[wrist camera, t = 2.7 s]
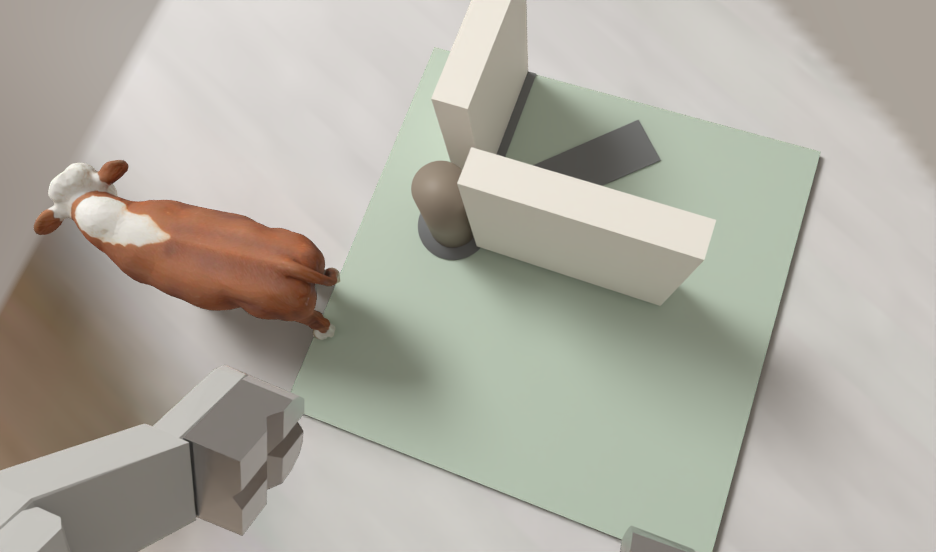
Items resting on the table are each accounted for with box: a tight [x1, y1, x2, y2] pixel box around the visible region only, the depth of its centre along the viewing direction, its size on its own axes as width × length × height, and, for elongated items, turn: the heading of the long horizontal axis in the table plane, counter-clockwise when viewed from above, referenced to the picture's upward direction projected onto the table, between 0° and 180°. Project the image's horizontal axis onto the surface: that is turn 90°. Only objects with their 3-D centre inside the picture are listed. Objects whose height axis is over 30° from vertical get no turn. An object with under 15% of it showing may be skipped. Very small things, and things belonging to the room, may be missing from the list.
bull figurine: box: [34, 160, 340, 340], centre depth 29 cm, size 4×13×8 cm, turn 68°
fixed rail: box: [411, 0, 528, 248], centre depth 29 cm, size 10×2×8 cm, turn 160°
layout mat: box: [291, 47, 821, 552], centre depth 31 cm, size 20×20×1 cm
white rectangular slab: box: [457, 147, 716, 306], centre depth 27 cm, size 9×2×8 cm, turn 70°
